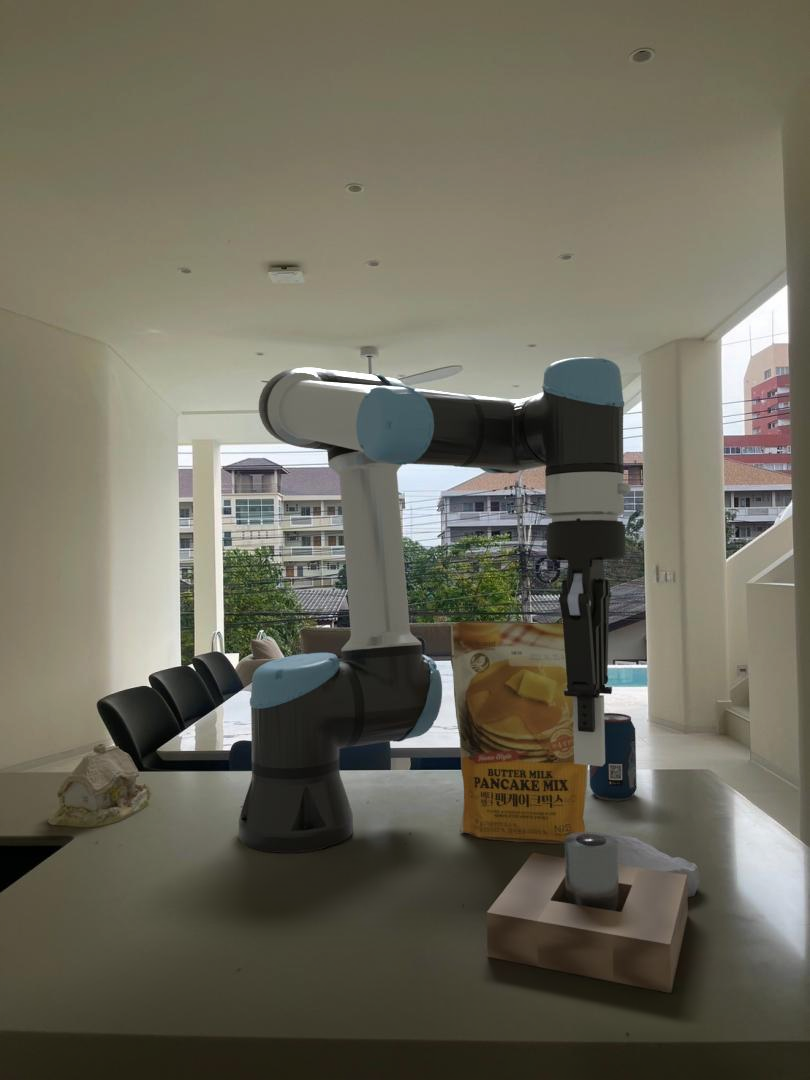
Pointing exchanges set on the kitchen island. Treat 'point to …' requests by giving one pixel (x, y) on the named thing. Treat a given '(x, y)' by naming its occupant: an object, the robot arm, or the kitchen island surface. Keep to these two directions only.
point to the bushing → (592, 870)
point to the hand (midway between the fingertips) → (589, 763)
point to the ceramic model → (101, 790)
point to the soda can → (616, 760)
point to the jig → (592, 925)
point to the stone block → (655, 860)
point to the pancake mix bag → (516, 732)
